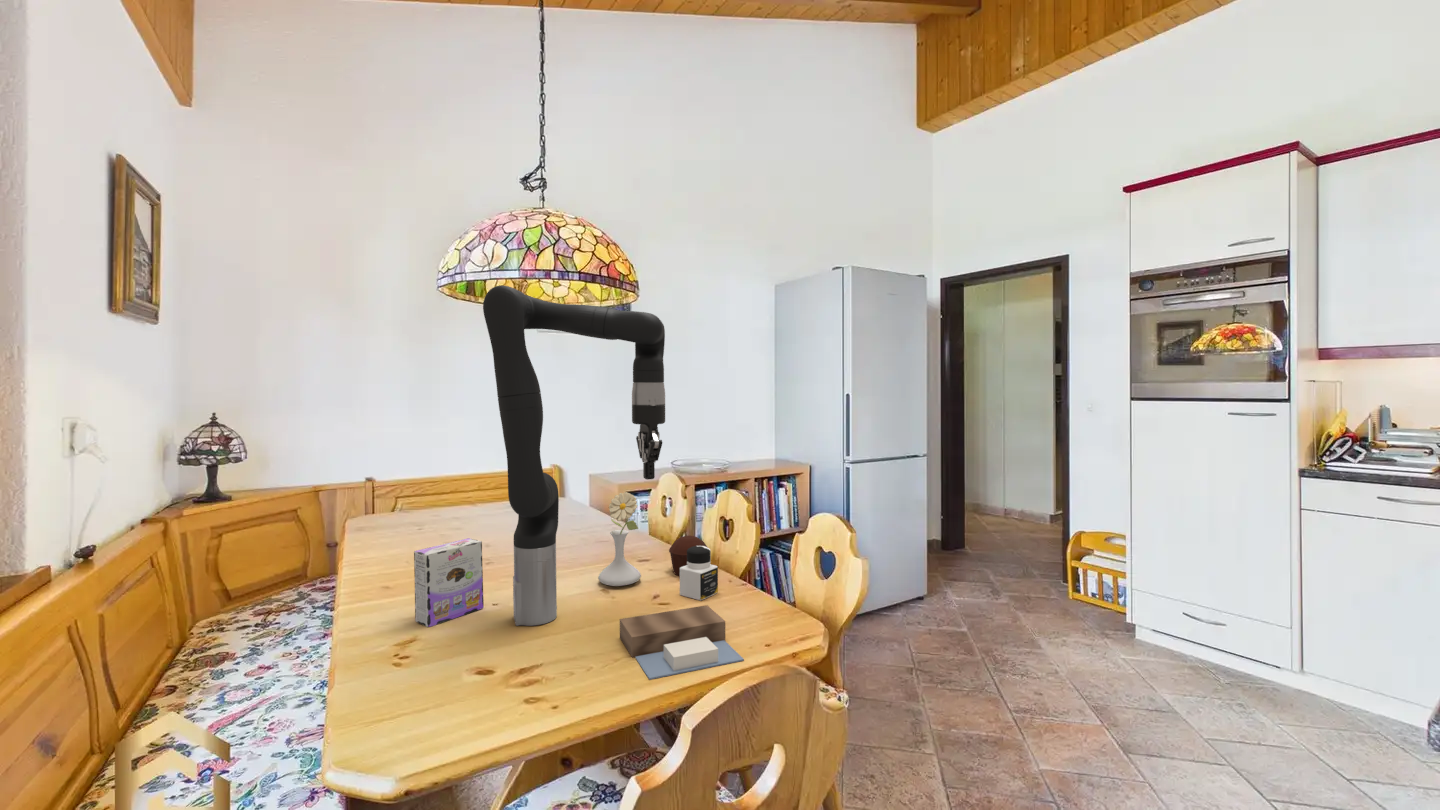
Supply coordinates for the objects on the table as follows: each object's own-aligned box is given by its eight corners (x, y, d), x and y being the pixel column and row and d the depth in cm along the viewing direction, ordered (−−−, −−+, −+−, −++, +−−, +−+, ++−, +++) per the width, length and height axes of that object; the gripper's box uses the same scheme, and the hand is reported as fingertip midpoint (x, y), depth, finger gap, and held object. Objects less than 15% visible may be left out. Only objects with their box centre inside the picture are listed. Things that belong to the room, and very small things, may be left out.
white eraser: (663, 644, 118) (663, 657, 118) (673, 657, 112) (673, 670, 112) (706, 636, 121) (706, 649, 121) (718, 648, 116) (718, 661, 116)
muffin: (671, 565, 178) (671, 532, 178) (709, 566, 178) (709, 532, 177) (667, 578, 166) (666, 542, 166) (707, 579, 166) (707, 542, 166)
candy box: (470, 603, 147) (469, 536, 147) (484, 609, 144) (483, 540, 143) (414, 622, 136) (412, 549, 136) (428, 628, 133) (426, 554, 132)
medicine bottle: (700, 601, 149) (700, 553, 149) (679, 595, 153) (678, 548, 153) (718, 593, 155) (718, 546, 154) (696, 587, 159) (696, 542, 159)
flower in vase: (589, 583, 163) (588, 490, 162) (623, 573, 171) (622, 485, 170) (619, 594, 154) (619, 497, 153) (653, 583, 162) (653, 491, 161)
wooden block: (632, 657, 118) (632, 637, 118) (619, 637, 128) (619, 619, 127) (725, 640, 126) (725, 621, 126) (707, 622, 135) (707, 605, 135)
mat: (649, 679, 109) (649, 678, 109) (635, 657, 118) (635, 656, 118) (743, 660, 117) (743, 659, 117) (724, 641, 126) (724, 640, 126)
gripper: (624, 402, 141) (625, 475, 142) (640, 403, 129) (641, 484, 130) (655, 401, 144) (656, 474, 145) (673, 403, 132) (674, 482, 133)
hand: (649, 478), depth 137 cm, fingers closed
